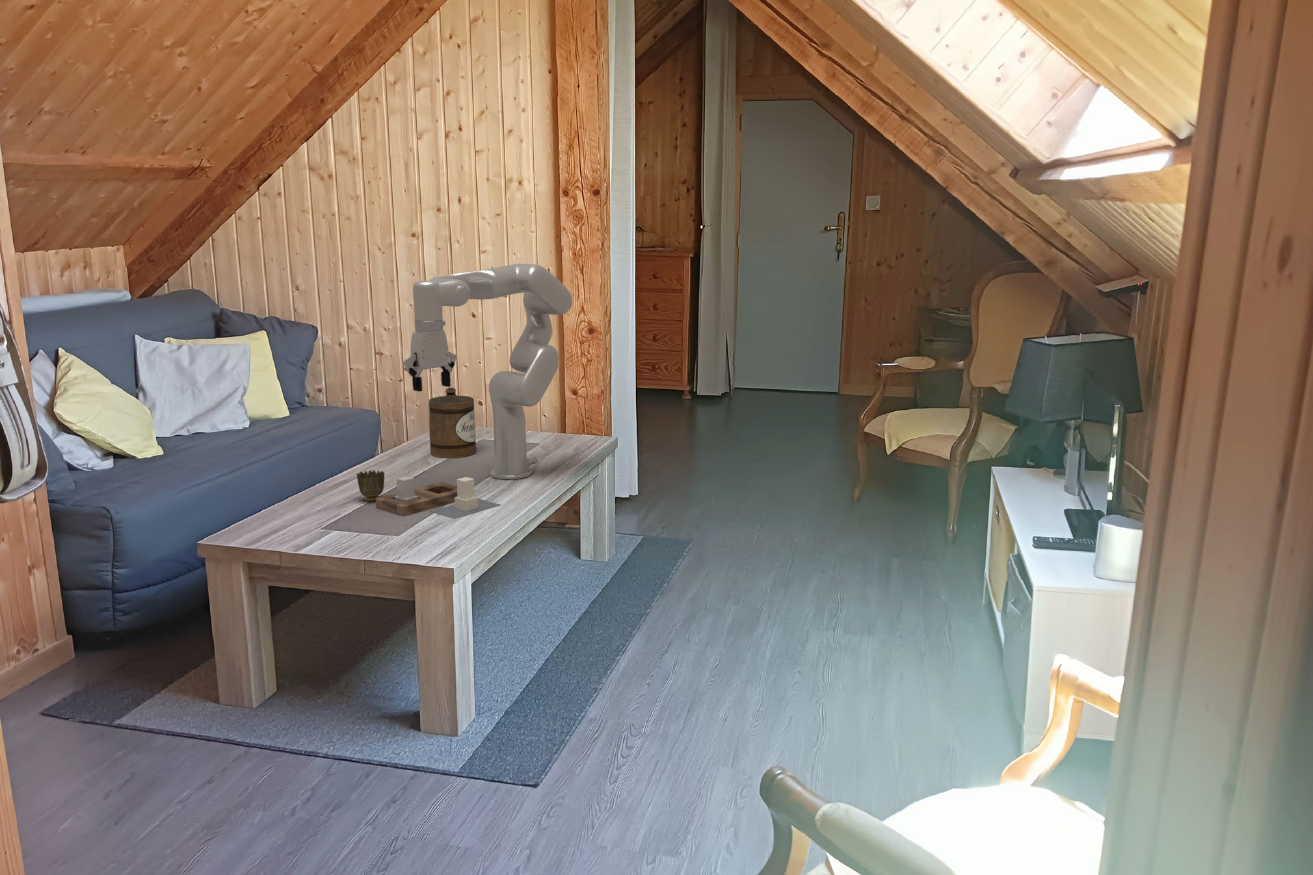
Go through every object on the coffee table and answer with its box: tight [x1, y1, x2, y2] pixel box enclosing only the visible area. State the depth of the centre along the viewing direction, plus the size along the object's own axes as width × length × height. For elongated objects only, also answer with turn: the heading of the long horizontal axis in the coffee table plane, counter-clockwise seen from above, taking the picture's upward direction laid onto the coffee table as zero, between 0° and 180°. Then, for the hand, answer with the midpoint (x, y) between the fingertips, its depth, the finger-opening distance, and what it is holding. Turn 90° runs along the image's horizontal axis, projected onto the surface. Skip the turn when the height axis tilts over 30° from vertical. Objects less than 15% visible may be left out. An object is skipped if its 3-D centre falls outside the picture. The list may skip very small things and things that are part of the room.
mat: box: [430, 498, 501, 520], centre depth 266 cm, size 16×10×1 cm, turn 140°
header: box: [375, 481, 458, 517], centre depth 270 cm, size 22×12×3 cm, turn 140°
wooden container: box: [428, 387, 477, 459], centre depth 327 cm, size 15×15×22 cm
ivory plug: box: [454, 476, 479, 511], centre depth 264 cm, size 4×5×8 cm
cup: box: [356, 469, 385, 502], centre depth 273 cm, size 8×7×8 cm
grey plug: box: [395, 475, 418, 503], centre depth 266 cm, size 4×5×8 cm
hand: (432, 388), depth 274 cm, fingers open, 9 cm apart
